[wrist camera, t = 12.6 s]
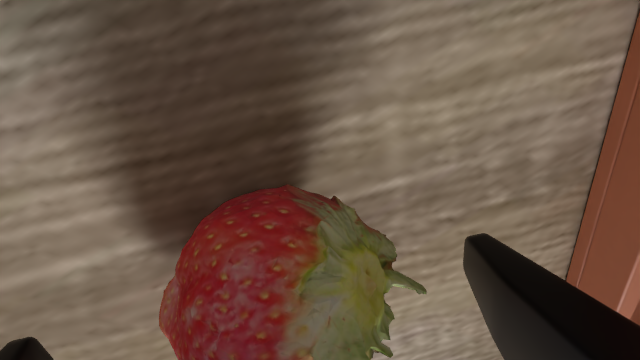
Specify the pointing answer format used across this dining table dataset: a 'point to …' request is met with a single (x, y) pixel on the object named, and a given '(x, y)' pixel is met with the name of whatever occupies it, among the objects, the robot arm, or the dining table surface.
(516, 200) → the dining table surface
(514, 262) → the robot arm
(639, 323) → the terracotta tray
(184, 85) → the dining table surface
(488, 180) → the dining table surface
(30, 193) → the dining table surface
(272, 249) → the fruit
